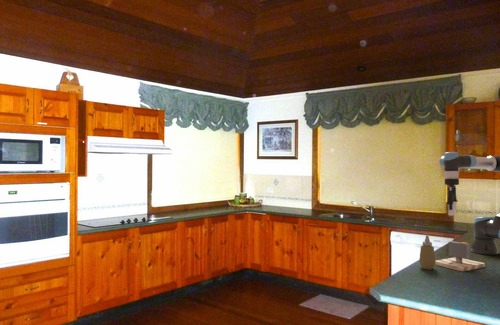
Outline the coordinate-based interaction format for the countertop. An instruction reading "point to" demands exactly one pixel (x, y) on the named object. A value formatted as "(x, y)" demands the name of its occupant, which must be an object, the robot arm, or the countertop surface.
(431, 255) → the squeeze bottle
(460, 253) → the grey block
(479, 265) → the base
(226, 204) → the countertop surface
